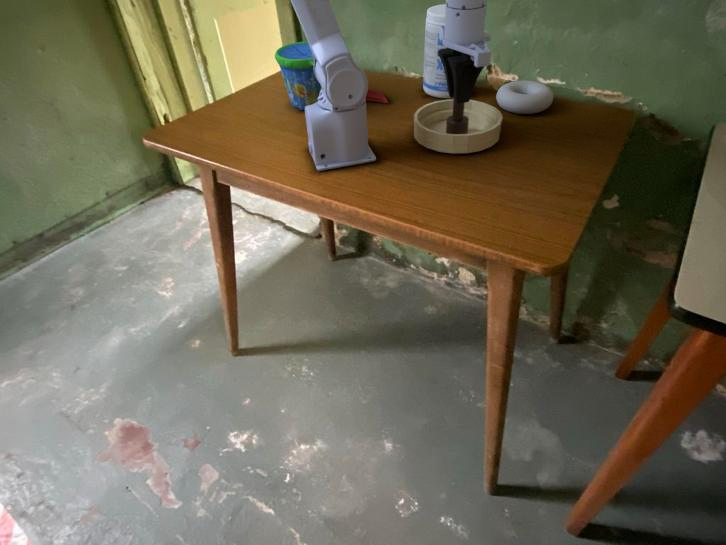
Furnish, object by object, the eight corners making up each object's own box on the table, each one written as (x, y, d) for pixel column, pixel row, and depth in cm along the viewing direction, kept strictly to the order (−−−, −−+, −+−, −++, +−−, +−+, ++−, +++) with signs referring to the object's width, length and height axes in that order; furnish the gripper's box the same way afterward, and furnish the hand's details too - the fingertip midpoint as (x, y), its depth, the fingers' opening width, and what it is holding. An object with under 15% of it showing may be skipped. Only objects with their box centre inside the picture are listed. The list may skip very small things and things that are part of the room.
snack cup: (352, 111, 92) (348, 55, 86) (300, 124, 89) (291, 67, 83) (319, 86, 103) (314, 34, 97) (272, 97, 100) (263, 44, 93)
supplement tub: (437, 104, 93) (441, 19, 83) (414, 87, 100) (415, 7, 90) (481, 94, 95) (490, 10, 86) (456, 78, 102) (461, 0, 92)
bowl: (431, 162, 76) (431, 141, 74) (402, 125, 87) (402, 106, 84) (515, 147, 78) (518, 126, 76) (477, 113, 89) (479, 94, 86)
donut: (495, 117, 87) (554, 117, 85) (497, 98, 85) (557, 98, 83) (495, 95, 95) (549, 95, 93) (496, 77, 92) (552, 77, 90)
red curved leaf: (331, 95, 99) (330, 86, 98) (346, 88, 101) (345, 79, 100) (377, 108, 93) (376, 98, 91) (392, 100, 95) (392, 90, 94)
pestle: (450, 139, 80) (455, 75, 74) (442, 130, 83) (446, 67, 76) (471, 136, 81) (477, 71, 74) (462, 127, 84) (467, 64, 77)
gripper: (516, 13, 65) (503, 112, 73) (471, -10, 75) (464, 80, 84) (466, 19, 63) (459, 119, 72) (427, -4, 74) (425, 86, 83)
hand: (459, 99), depth 78 cm, fingers closed on pestle, 2 cm apart
